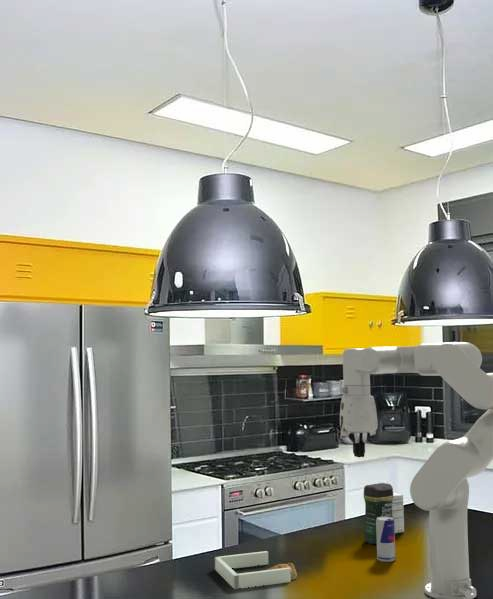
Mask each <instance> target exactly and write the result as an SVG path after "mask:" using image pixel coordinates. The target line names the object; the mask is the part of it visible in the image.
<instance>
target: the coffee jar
mask: <svg viewBox="0 0 493 599" xmlns="http://www.w3.org/2000/svg"><path fill="white" fill-rule="evenodd" d="M393 492H394V488H393V486H392V485H391V484H389V483H385V482H379V483H373V484H366V485H365V486H364V488H363V499H364V500H363V501H364V504H365V510H364V511H365V512H364V516H365V517H364V531H363V532H364V533H363V535H364V536H363V537H364V538H363V539H364V541H365V542H366V543H368V544H371V545H373V544H374V545H377V537H376V519H377V517H382V516H386V517H392V518H393V516H392V501H393Z"/></svg>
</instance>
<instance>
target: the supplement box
mask: <svg viewBox="0 0 493 599" xmlns="http://www.w3.org/2000/svg"><path fill="white" fill-rule="evenodd" d="M404 510H405V509H404V495H403V494H400V493H396V492H394V491H393V501H392V516H393V520H394V528H395V534H398V533H399V534H400V533H404V532H405V516H404V515H405V514H404V512H405V511H404Z"/></svg>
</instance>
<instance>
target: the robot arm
mask: <svg viewBox="0 0 493 599" xmlns="http://www.w3.org/2000/svg"><path fill="white" fill-rule="evenodd" d="M482 363H483V355H482V353H481V350H480V349H479V348H478V347H477V346H476V345H475V344H472V343H471V342H465V341H459V342H457V341H453V342H452V341H451V342H449V341H448V342H435V343H433V342H431V343H430V342H429V343H424V342H423V343H419V344H418V345H413V346H373V347H372V346H371V347H370V346H369V347H365V348H358V347H357V348H345V349H344V350H343V352H342V368H343V369H342V375H343V376H342V377H343V379H342V380H343V385H342V388H341V387H340V388H339V393H340V394H342V395H343V396H341V401H340V408H339V409H340V410H339V428H340V437H341V436H342V437H344V438H348V439H349V440H350V441H351V442H352V453H353V456H354V457H357V458H365V454H366V443H367V442H368V439H369V438H370V437H372V436H374V435H376V434H377V430H378V427H379V426H378V422H379V421H378V415H377V406H376V401H375V398H374V396H373V395H371V377H370V376H371V375H382V374H383V375H384V374H410V373H411V374H419V375H420V376H425V377H427V376H428V377H429V376H432V377H433V376H439V377H441V378H442V379H443V380H444V381H445V382H446V383H447V384H448V385H449V386H450V387H451V388H452V389H453V390H454V391H455V392H456V393H457V394H458V395H459V396H460V397H462V399H464V400H465V401H466V403H468V404H469V405H470V406H472V407H474V408H476V409H479V410H486V411H485V412H484V413H483V414H482V415H481V416H480V417H479V418H478V419H477V420H476V421H475V423H474V424H473V425H472V426H471V428H470V429H468V431H467V432H466V433H465V434H464V435H463V436H461V437H459V438H456V439H453V440H449V441H446V442H443V443H442V444H440V445H439V446H438V447H437V448H436V449H435V450H434V451H433V452H432V453H431V455H430V456H429V457H428V458H427V459H426V461H425V463H423V465H422V466H421V467H420V469H418V471H417V472H416V473H415V475H414V476H413V478H412V480H411V482H410V487H409V494H410V498H411V500H412V502H413V503H414V504H415V506H416V507H418V508H419V509H422V511H429V512H428V513H429V515H428V543H429V546H428V547H429V565H430V566H429V567H430V568H429V569H430V570H429V571H430V583H427V584H426V585H425V586H424V592H425V594H426V595H427V596H429V597H430V598H433V599H474V598H476V597H477V589H476V588H475V587H474V586H472V579H471V578H470V563H469V562H470V561H469V541H468V540H469V539H468V507H469V497H470V484H469V480H468V478H473V477H476V476H478V475H480V474H481V473H483V472H484V471H485V470H486V468H487V467H488V466H489V464H491V462H492V461H493V372H488V373H486V372H485V371H484V370H483V369H481V367H482Z"/></svg>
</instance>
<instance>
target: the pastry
mask: <svg viewBox="0 0 493 599" xmlns="http://www.w3.org/2000/svg"><path fill="white" fill-rule="evenodd" d="M288 567H289V568H290V569H291V581H294V580H296V578H297V577H298V574H297V570H296V568H295V565H294V564H293V563H292V562H288V563H278V564H276V565H274V566H272V567H269V568H267V569H266V570H272V569H280V568H288Z"/></svg>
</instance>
